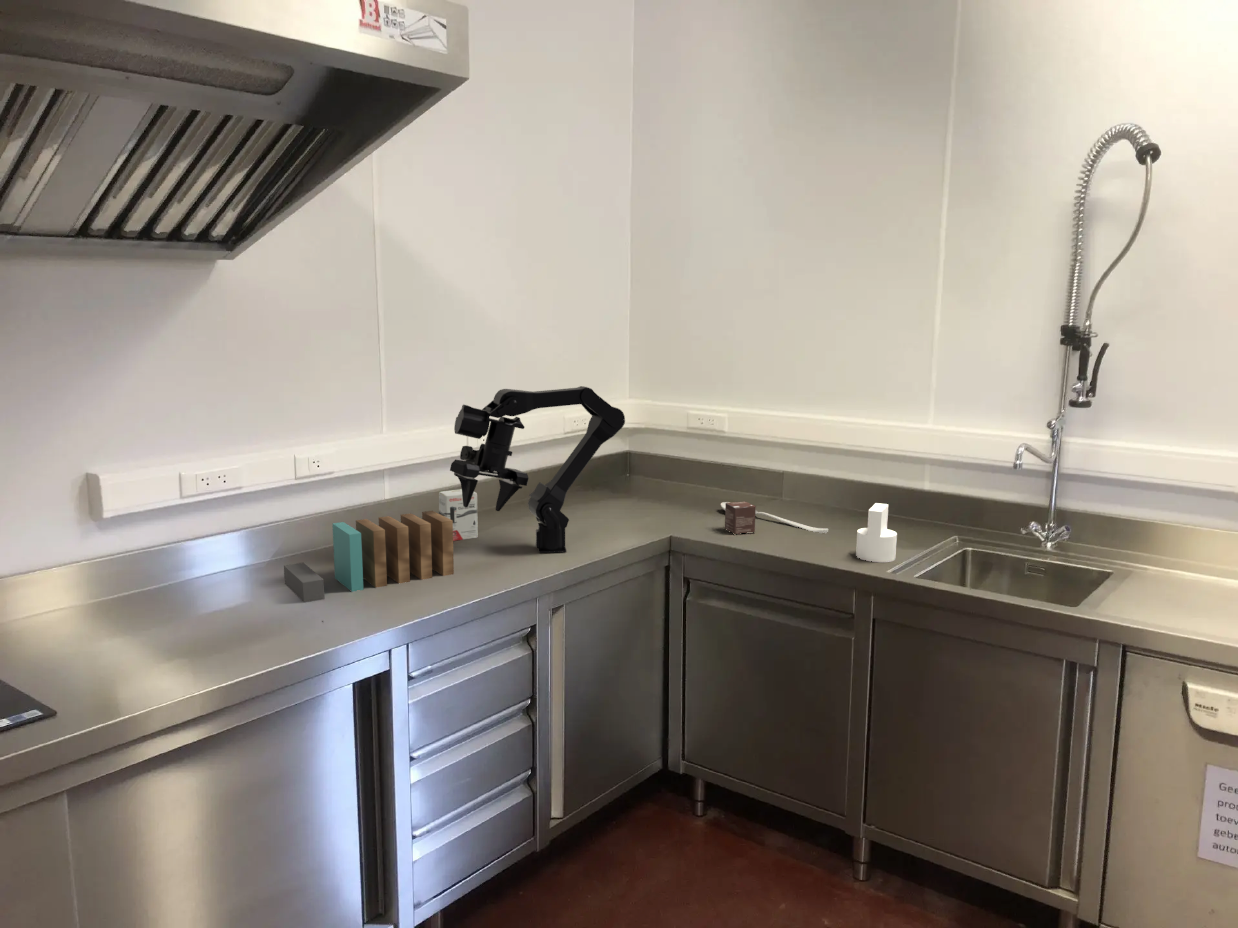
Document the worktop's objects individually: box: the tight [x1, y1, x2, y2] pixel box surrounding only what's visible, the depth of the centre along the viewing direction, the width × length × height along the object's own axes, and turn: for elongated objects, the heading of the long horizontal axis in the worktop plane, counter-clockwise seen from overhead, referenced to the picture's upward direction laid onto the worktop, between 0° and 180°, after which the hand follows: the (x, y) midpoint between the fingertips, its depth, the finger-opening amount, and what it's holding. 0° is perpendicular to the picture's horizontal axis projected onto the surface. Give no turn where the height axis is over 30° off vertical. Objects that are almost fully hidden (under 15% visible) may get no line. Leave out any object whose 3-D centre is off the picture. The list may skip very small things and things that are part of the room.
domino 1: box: [332, 521, 364, 593], centre depth 188 cm, size 2×11×12 cm, turn 34°
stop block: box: [283, 562, 325, 603], centre depth 184 cm, size 4×14×4 cm, turn 35°
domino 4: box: [400, 512, 433, 580], centre depth 197 cm, size 2×11×12 cm, turn 34°
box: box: [724, 501, 757, 535], centre depth 235 cm, size 6×6×7 cm
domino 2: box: [355, 518, 388, 588], centre depth 191 cm, size 2×11×12 cm, turn 34°
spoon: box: [720, 501, 829, 534], centre depth 247 cm, size 35×8×3 cm, turn 44°
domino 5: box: [421, 510, 455, 577], centre depth 200 cm, size 2×11×12 cm, turn 34°
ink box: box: [438, 488, 479, 542], centre depth 226 cm, size 8×5×12 cm, turn 123°
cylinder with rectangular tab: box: [855, 502, 898, 563], centre depth 213 cm, size 9×9×12 cm
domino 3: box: [378, 515, 411, 584], centre depth 194 cm, size 2×11×12 cm, turn 35°
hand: (481, 508), depth 208 cm, fingers open, 9 cm apart
